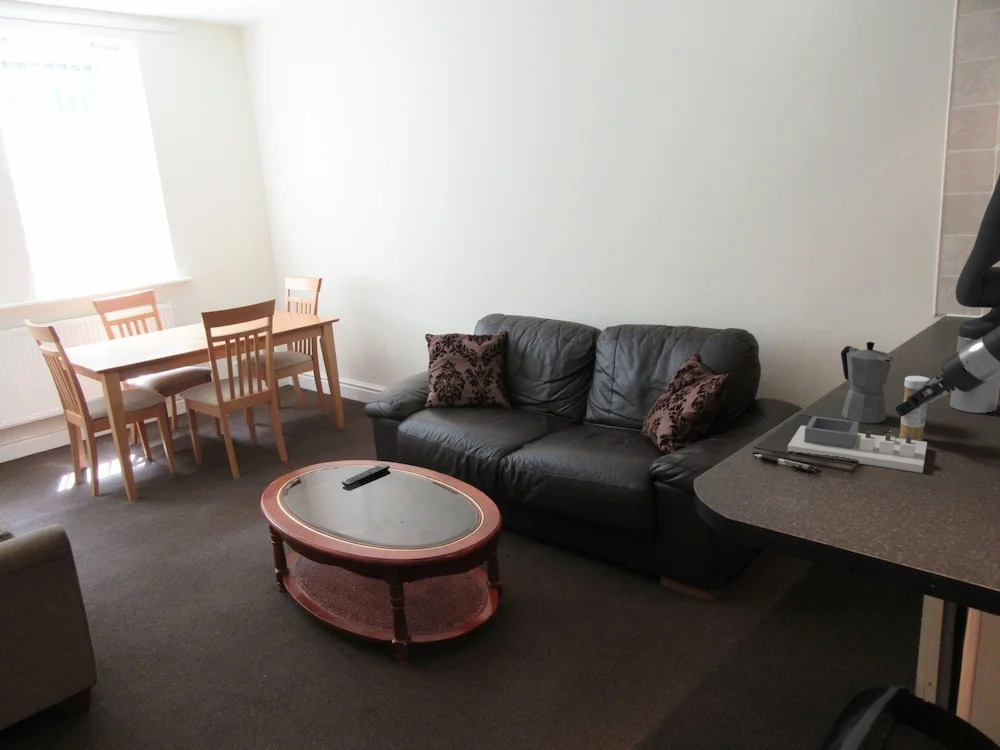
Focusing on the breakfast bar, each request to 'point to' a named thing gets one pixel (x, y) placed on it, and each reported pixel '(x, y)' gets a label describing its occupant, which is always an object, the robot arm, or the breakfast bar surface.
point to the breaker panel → (858, 444)
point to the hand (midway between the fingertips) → (904, 409)
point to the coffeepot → (865, 383)
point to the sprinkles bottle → (916, 418)
